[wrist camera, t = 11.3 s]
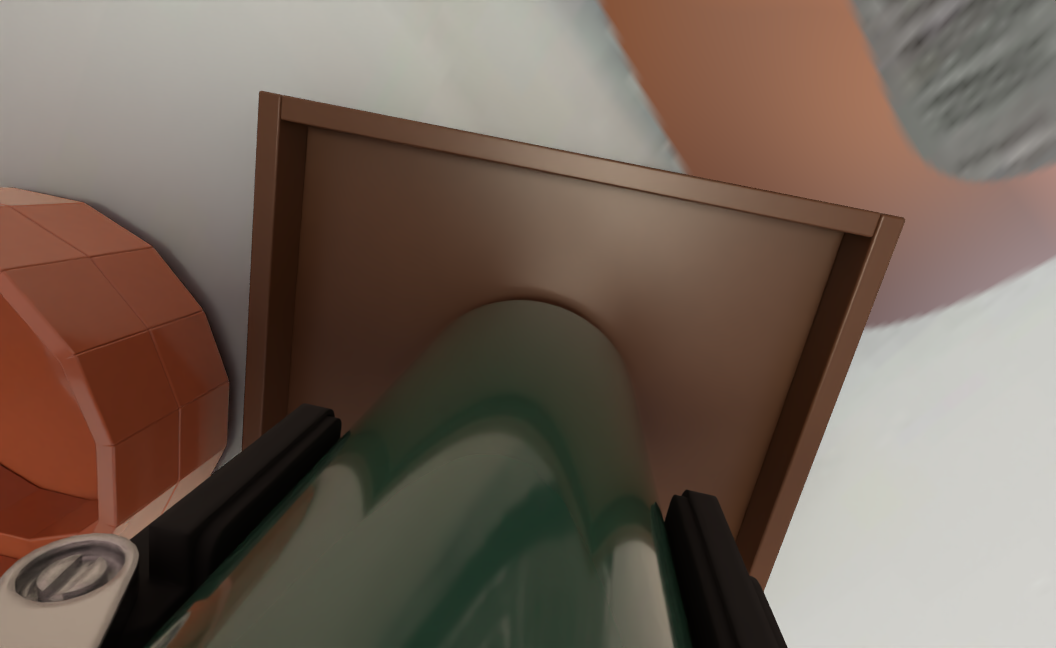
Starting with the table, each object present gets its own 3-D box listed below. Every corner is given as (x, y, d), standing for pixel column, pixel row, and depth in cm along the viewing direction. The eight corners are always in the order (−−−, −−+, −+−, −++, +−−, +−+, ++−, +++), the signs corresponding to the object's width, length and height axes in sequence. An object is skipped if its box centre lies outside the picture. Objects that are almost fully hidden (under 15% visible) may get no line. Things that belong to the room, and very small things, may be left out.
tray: (270, 518, 19) (235, 555, 17) (298, 101, 15) (258, 90, 14) (717, 623, 19) (733, 675, 17) (865, 213, 15) (907, 217, 13)
